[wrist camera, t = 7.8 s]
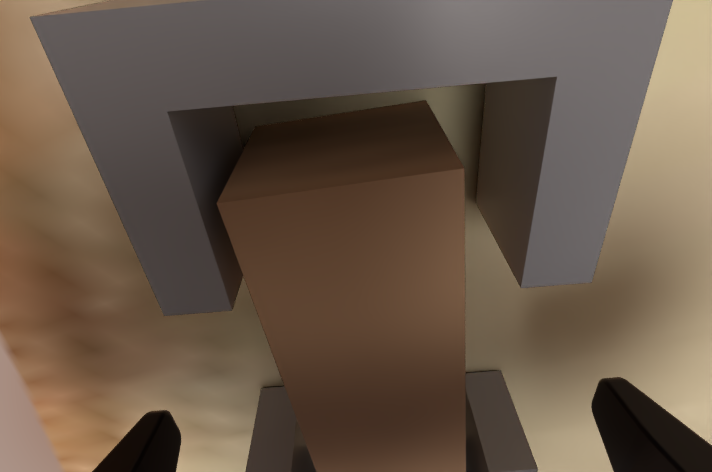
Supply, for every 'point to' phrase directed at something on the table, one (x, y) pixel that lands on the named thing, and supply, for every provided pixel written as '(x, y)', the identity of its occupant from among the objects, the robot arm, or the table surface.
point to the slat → (360, 282)
